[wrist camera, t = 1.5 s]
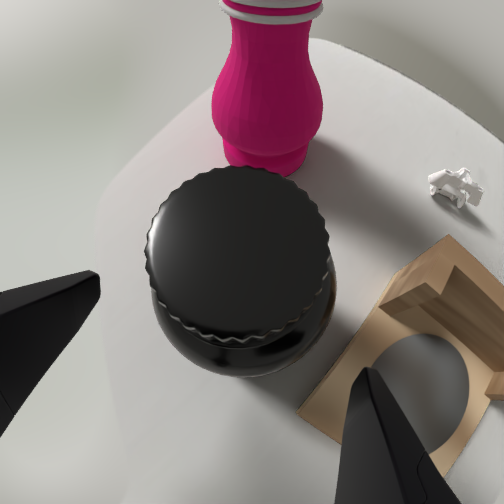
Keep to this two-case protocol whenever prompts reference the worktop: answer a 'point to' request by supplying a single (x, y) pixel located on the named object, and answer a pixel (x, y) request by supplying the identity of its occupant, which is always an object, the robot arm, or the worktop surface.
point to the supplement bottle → (241, 271)
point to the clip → (455, 186)
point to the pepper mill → (268, 85)
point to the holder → (426, 351)
